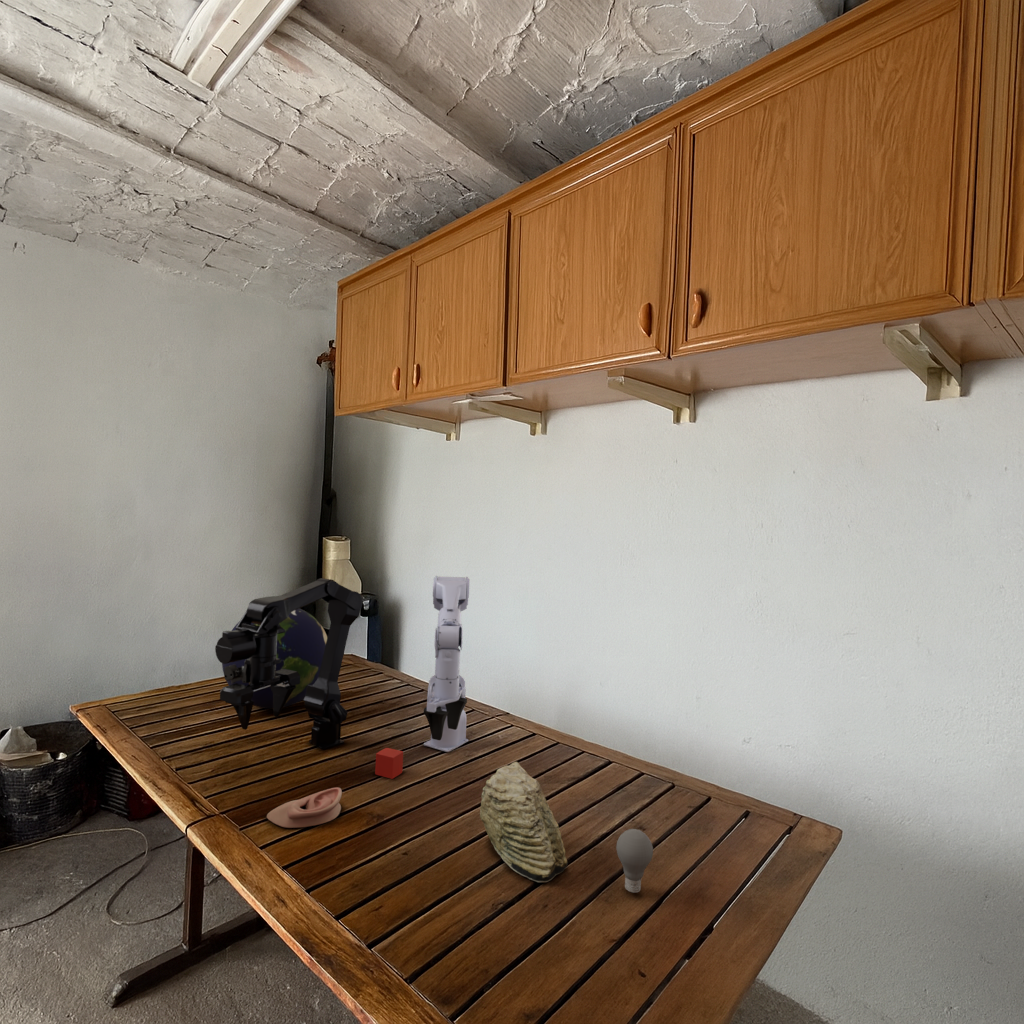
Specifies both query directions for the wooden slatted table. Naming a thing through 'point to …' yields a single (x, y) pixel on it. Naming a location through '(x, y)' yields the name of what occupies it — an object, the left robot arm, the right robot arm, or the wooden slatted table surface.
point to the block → (389, 763)
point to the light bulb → (634, 857)
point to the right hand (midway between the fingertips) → (444, 733)
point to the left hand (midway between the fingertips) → (260, 722)
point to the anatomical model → (308, 810)
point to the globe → (293, 656)
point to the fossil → (522, 824)
